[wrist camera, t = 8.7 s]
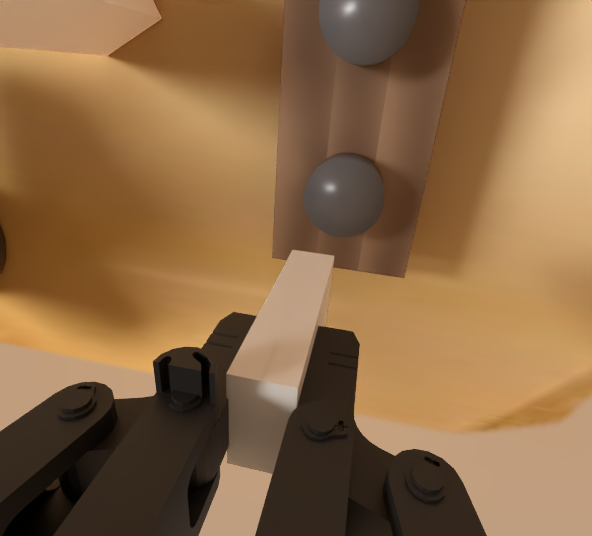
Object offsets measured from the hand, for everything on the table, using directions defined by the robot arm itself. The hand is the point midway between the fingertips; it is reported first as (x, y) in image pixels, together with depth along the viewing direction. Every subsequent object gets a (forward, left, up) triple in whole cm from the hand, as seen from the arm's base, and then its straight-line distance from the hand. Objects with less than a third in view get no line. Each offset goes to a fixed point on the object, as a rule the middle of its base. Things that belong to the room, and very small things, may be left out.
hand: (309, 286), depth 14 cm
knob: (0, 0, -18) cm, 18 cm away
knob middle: (0, +10, -18) cm, 21 cm away
